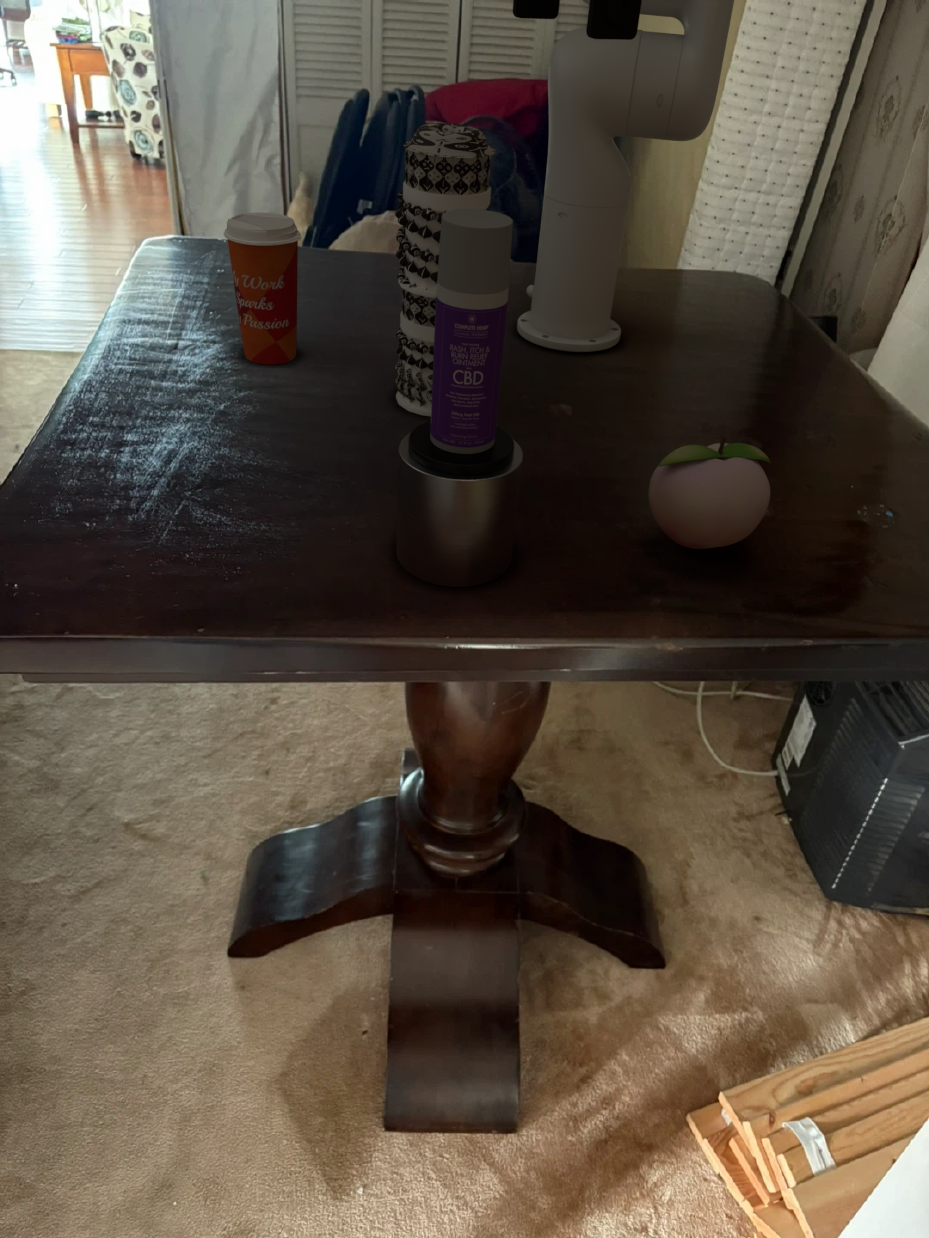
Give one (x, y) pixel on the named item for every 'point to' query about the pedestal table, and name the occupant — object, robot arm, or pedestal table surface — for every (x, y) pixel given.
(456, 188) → the decorative candle
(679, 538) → the decorative fruit
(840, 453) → the pedestal table surface
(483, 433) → the container
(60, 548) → the pedestal table surface
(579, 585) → the pedestal table surface
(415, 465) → the lidded metal canister
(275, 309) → the paper cup
